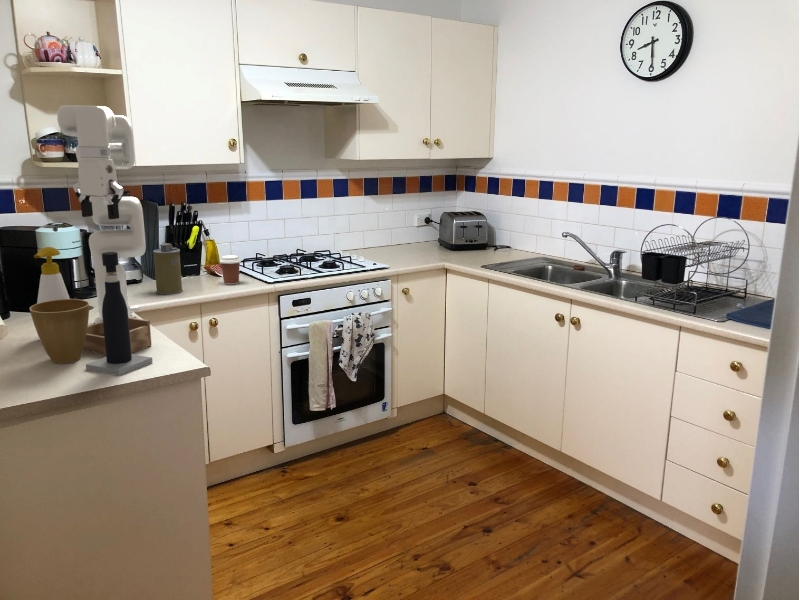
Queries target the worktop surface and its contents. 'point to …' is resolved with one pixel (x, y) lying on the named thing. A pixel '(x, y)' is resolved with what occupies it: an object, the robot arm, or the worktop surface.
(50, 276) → the soap bottle
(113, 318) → the black water bottle
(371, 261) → the worktop surface
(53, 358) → the plant pot
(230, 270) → the coffee cup
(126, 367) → the tile
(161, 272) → the canister
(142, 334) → the wooden box
